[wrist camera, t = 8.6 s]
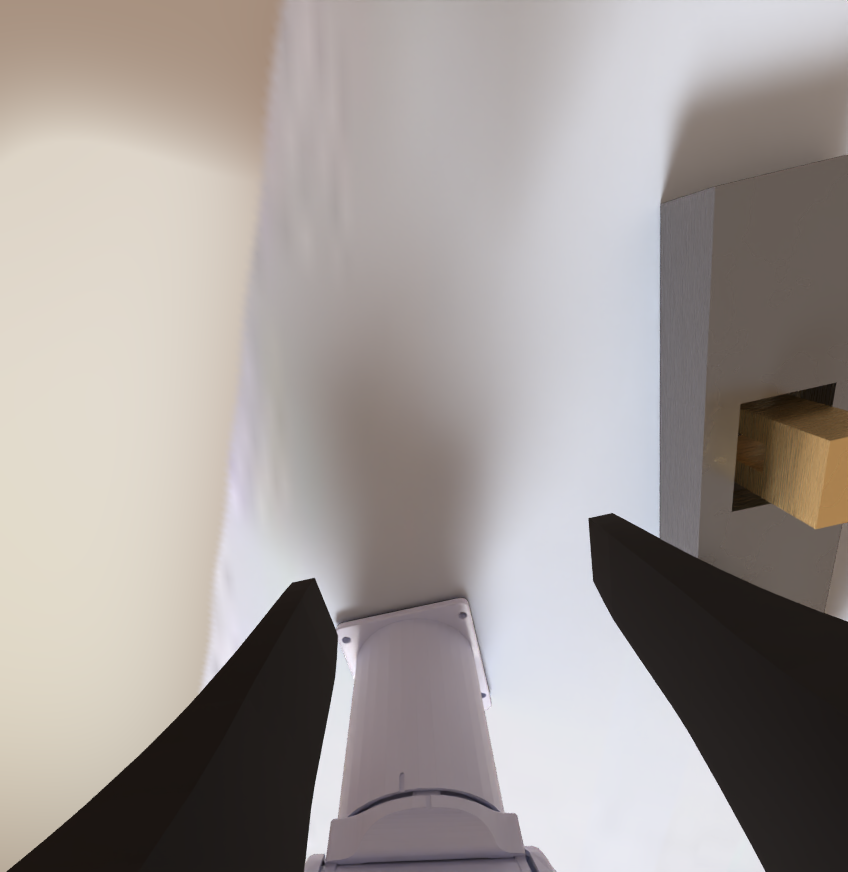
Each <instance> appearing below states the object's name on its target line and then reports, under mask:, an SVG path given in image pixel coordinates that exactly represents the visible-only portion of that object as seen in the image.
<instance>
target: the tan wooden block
mask: <svg viewBox="0 0 848 872" xmlns="http://www.w3.org/2000/svg"><path fill="white" fill-rule="evenodd" d="M738 433H739V434H742V435H739V436H738V440H737V453H736V465H735V477H734V482H736V483H737V484H739V485H741V486H743V487H744V488H746V489H748V490H749V491H751V492H753V493H755V494H756V495H758V496H760V497H761V498H763V499H765V500H767V501H768V502H770V503H772V504H773V505H775V506H777V507H779V508H780V509H782V510H784V511H785V512H787V513H789V514H790V515H792V516H794V517H796V518H797V519H799V520H801V521H802V522H804V523H806V524H808V525H809V526H811V527H813V528H814V529H820V528H824V527H829V526H833V525H838V524H842V523H847V522H848V411H846V410H843V409H839V408H835V407H832V406H828V405H825V404H821V403H817V402H814V401H810V400H806V399H803V398H799V397H796V396H792V395H788V394H782V395H778V396H773V397H769V398H764V399H760V400H755V401H751V402H746V403H742V404H740V416H739V428H738Z"/></svg>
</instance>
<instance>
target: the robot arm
mask: <svg viewBox="0 0 848 872" xmlns="http://www.w3.org/2000/svg"><path fill="white" fill-rule="evenodd" d="M588 519H589V532H590V545H591V558H592V571H593V581H594V583H595V585H596V587H597V589H598V591H599V593H600V595H601V597H602V599H603V601H604V603H605V605H606V607H607V609H608V610H609V612H610V614H611V616H612V618H613V620H614V621H615V623H616V624H617V626H618V627H619V629H620V630H621V632H622V633H623V635H624V636H625V638H626V639H627V641H628V642H629V644H630V645H631V647H632V648H633V650H634V651H635V652H636V654H637V655H638V657H639V658H640V660H641V661H642V663H643V664H644V666H645V667H646V669H647V670H648V672H649V673H650V675H651V676H652V677H653V679H654V680H655V682H656V683H657V685H658V686H659V688H660V689H661V691H662V692H663V694H664V695H665V697H666V698H667V700H668V701H669V702H670V704H671V705H672V707H673V708H674V710H675V711H676V713H677V715H678V716H679V718H680V719H681V721H682V723H683V724H684V726H685V727H686V729H687V730H688V732H689V734H690V735H691V737H692V739H693V741H694V742H695V744H696V746H697V748H698V750H699V751H700V753H701V755H702V757H703V758H704V760H705V762H706V764H707V765H708V767H709V769H710V771H711V772H712V774H713V776H714V778H715V779H716V781H717V783H718V785H719V787H720V788H721V790H722V792H723V794H724V796H725V797H726V799H727V801H728V803H729V805H730V807H731V808H732V810H733V812H734V814H735V816H736V818H737V819H738V821H739V823H740V825H741V827H742V829H743V830H744V832H745V834H746V836H747V838H748V839H749V841H750V843H751V845H752V847H753V849H754V851H755V852H756V854H757V856H758V858H759V860H760V862H761V864H762V866H763V868H764V870H765V871H766V872H848V622H847V621H844V620H842V619H839V618H836V617H833V616H831V615H828V614H825V613H823V612H820V611H817V610H815V609H812V608H810V607H807V606H805V605H802V604H800V603H797V602H795V601H792V600H790V599H787V598H785V597H782V596H780V595H777V594H775V593H772V592H770V591H767V590H765V589H763V588H760V587H758V586H756V585H754V584H751V583H749V582H747V581H745V580H743V579H740V578H738V577H736V576H734V575H732V574H730V573H727V572H725V571H723V570H721V569H719V568H717V567H715V566H713V565H710V564H708V563H706V562H704V561H702V560H700V559H698V558H696V557H694V556H692V555H690V554H688V553H686V552H684V551H683V550H681V549H679V548H677V547H675V546H673V545H671V544H669V543H667V542H665V541H663V540H662V539H660V538H658V537H656V536H654V535H652V534H650V533H649V532H647V531H645V530H643V529H641V528H639V527H638V526H636V525H634V524H632V523H630V522H628V521H626V520H625V519H623V518H621V517H619V516H617V515H615V514H613V513H611V514H606V515H601V516H597V517H592V518H588ZM461 612H465V613H463V614H460V613H461ZM346 637H349V638H346ZM338 642H339V644H340V646H341V649H342V651H343V654H344V656H345V659H346V661H347V663H348V666H349V668H350V671H351V673H352V676H353V678H354V688H353V696H352V705H351V713H350V721H349V729H348V738H347V746H346V754H345V763H344V771H343V779H342V788H341V796H340V804H339V812H338V819H333V820H332V821H331V825H330V833H329V840H328V848H327V855H326V858H325V854H313V855H311V856H310V857H309V858H308V859H307V861H306V863H305V859H306V849H307V840H308V831H309V822H310V813H311V805H312V799H313V793H314V786H315V780H316V775H317V770H318V765H319V760H320V754H321V749H322V744H323V739H324V734H325V728H326V723H327V718H328V713H329V708H330V702H331V697H332V691H333V686H334V680H335V672H336V660H337V645H338ZM491 706H492V702H491V698H490V693H489V689H488V685H487V680H486V676H485V672H484V668H483V663H482V659H481V655H480V650H479V646H478V642H477V637H476V633H475V629H474V624H473V620H472V616H471V611H470V607H469V603H468V601H467V600H466V599H464V598H457V599H452V600H447V601H443V602H438V603H433V604H429V605H424V606H419V607H415V608H410V609H405V610H401V611H396V612H391V613H387V614H382V615H377V616H373V617H368V618H363V619H358V620H354V621H349V622H344V623H341V624H339V625H338V626H337V628H336V629H335V627H334V624H333V622H332V619H331V617H330V614H329V612H328V609H327V607H326V604H325V602H324V600H323V597H322V595H321V592H320V590H319V587H318V585H317V582H316V580H315V578H312V579H307V580H303V581H298V582H293V583H291V585H290V586H289V587H288V588H287V589H286V590H285V592H284V593H283V594H282V595H281V596H280V598H279V599H278V600H277V601H276V603H275V604H274V605H273V606H272V608H271V609H270V610H269V611H268V613H267V614H266V615H265V617H264V618H263V619H262V620H261V622H260V623H259V624H258V625H257V626H256V628H255V629H254V630H253V631H252V633H251V634H250V635H249V636H248V638H247V639H246V640H245V641H244V642H243V644H242V645H241V646H240V647H239V649H238V650H237V651H236V652H235V653H234V655H233V656H232V657H231V658H230V659H229V660H228V662H227V663H226V664H225V665H224V666H223V667H222V668H221V670H220V671H219V672H218V673H217V674H216V675H215V676H214V678H213V679H212V680H211V681H210V682H209V683H208V684H207V686H206V687H205V688H204V689H203V690H202V691H201V692H200V694H199V695H198V696H197V697H196V698H195V699H194V700H193V701H192V703H191V704H190V705H189V706H188V707H187V708H186V709H185V710H184V711H183V712H182V713H181V714H180V715H179V716H178V717H177V718H176V719H175V720H174V721H173V722H172V723H171V724H170V725H169V727H168V728H166V729H165V731H163V732H162V733H161V735H159V736H158V737H157V739H156V740H155V741H153V743H151V745H149V746H148V748H146V749H145V750H144V751H143V752H142V753H141V754H140V755H139V756H138V757H137V758H136V759H135V760H134V761H133V762H132V763H130V764H129V765H128V766H127V767H126V768H125V769H124V770H123V771H122V772H121V773H120V774H119V775H118V776H117V777H115V778H114V779H113V780H112V781H111V782H110V783H109V784H108V785H107V786H106V787H104V789H102V790H101V791H100V792H99V793H98V794H97V795H96V796H95V797H94V798H92V800H91V801H89V802H88V803H87V804H86V805H85V806H84V807H83V808H81V809H80V810H79V811H78V812H77V813H76V814H75V815H73V816H72V817H71V818H70V819H69V820H68V821H66V822H65V823H64V824H63V825H62V826H61V827H60V828H58V829H57V830H56V831H55V832H54V833H53V834H51V835H50V836H49V837H48V838H47V839H45V840H44V841H43V842H42V843H41V844H39V845H38V846H37V847H36V848H34V849H33V850H32V851H31V852H30V853H28V854H27V855H26V856H25V857H24V858H22V859H21V860H20V861H19V862H18V863H16V864H15V865H14V866H13V867H12V868H10V869H9V870H8V871H7V872H556V870H555V869H554V868H553V867H552V866H551V864H550V863H549V861H548V859H547V858H546V856H545V855H544V854H543V852H542V851H541V850H540V849H539V848H537V847H534V846H524V845H523V840H522V836H521V831H520V826H519V822H518V817H517V815H516V814H515V813H504V808H503V803H502V798H501V793H500V788H499V782H498V777H497V772H496V767H495V762H494V757H493V752H492V747H491V741H490V736H489V731H488V726H487V721H486V716H485V711H484V710H488V709H489V708H490V707H491Z"/></svg>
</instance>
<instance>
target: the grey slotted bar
mask: <svg viewBox="0 0 848 872" xmlns="http://www.w3.org/2000/svg"><path fill="white" fill-rule="evenodd" d="M782 394H788V395H792V396H796V397H799V398H803V399H806V400H810V401H814V402H817V403H821V404H825V405H828V406H832V407H835V408H839V409H843V410H846V411H848V155H844V156H840V157H836V158H832V159H828V160H823V161H819V162H815V163H811V164H807V165H803V166H798V167H794V168H790V169H786V170H782V171H777V172H773V173H769V174H765V175H761V176H757V177H752V178H748V179H744V180H740V181H736V182H732V183H727V184H723V185H719V186H715V187H712V188H709V189H706V190H703V191H699V192H696V193H693V194H690V195H687V196H684V197H681V198H678V199H675V200H672V201H668V202H665V203H662V204H661V346H660V539H662V540H663V541H665V542H667V543H669V544H671V545H673V546H675V547H677V548H679V549H681V550H683V551H684V552H686V553H688V554H690V555H692V556H694V557H696V558H698V559H700V560H702V561H704V562H706V563H708V564H710V565H713V566H715V567H717V568H719V569H721V570H723V571H725V572H727V573H730V574H732V575H734V576H736V577H738V578H740V579H743V580H745V581H747V582H749V583H751V584H754V585H756V586H758V587H760V588H763V589H765V590H767V591H770V592H772V593H775V594H777V595H780V596H782V597H785V598H787V599H790V600H792V601H795V602H797V603H800V604H802V605H805V606H807V607H810V608H812V609H815V610H817V611H820V612H823V613H824V610H825V605H826V600H827V596H828V591H829V586H830V581H831V576H832V571H833V566H834V562H835V557H836V552H837V547H838V542H839V537H840V532H841V528H842V524H838V525H833V526H829V527H824V528H820V529H814V528H813V527H811V526H809V525H808V524H806V523H804V522H802V521H801V520H799V519H797V518H796V517H794V516H792V515H790V514H789V513H787V512H785V511H784V510H782V509H780V508H779V507H777V506H775V505H773V504H772V503H770V502H768V501H767V500H765V499H763V498H761V497H760V496H758V495H756V494H755V493H753V492H751V491H749V490H748V489H746V488H744V487H743V486H741V485H739V484H737V483H736V482H734V477H735V465H736V453H737V440H738V428H739V416H740V404H742V403H746V402H751V401H755V400H760V399H764V398H769V397H773V396H778V395H782Z"/></svg>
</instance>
